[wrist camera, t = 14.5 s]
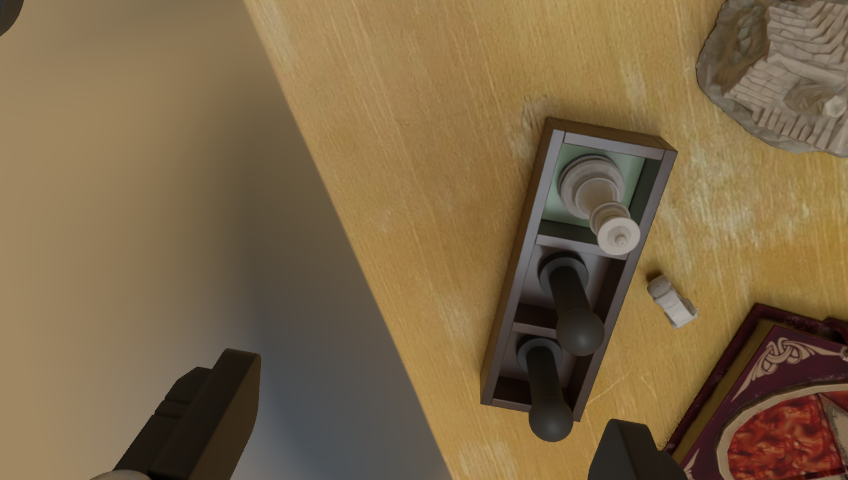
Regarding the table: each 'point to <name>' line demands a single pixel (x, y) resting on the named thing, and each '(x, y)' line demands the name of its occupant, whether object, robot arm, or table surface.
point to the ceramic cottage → (782, 71)
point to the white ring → (672, 302)
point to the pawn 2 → (545, 387)
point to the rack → (563, 232)
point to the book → (772, 404)
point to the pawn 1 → (571, 303)
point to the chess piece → (599, 201)
